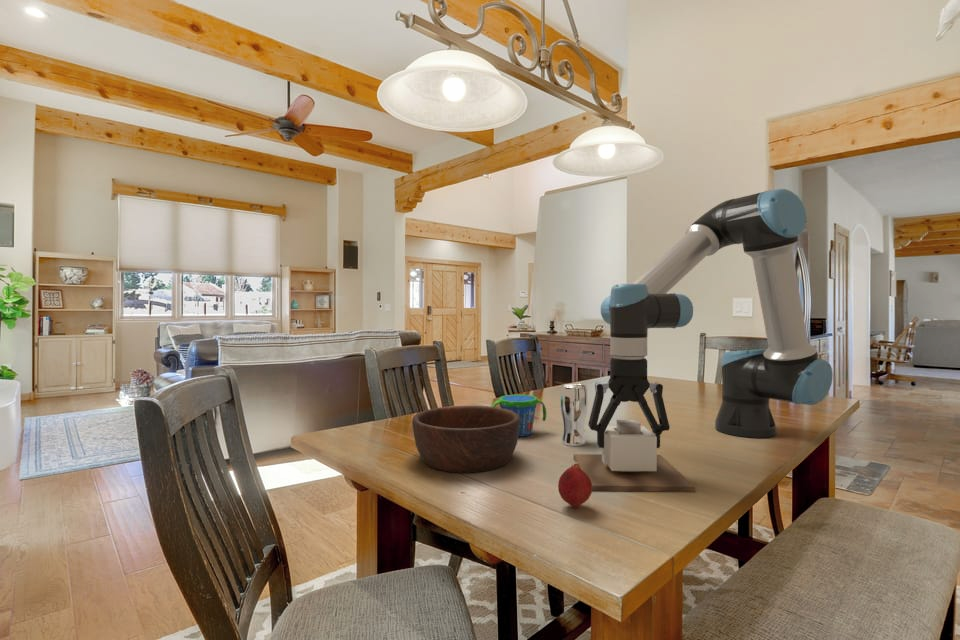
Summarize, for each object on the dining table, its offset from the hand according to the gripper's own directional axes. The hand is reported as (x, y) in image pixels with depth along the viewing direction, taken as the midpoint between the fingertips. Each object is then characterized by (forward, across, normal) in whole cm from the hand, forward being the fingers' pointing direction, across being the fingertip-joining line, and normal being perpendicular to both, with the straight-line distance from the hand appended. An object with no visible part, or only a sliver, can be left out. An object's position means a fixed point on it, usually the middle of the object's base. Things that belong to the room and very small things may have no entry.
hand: (628, 462), depth 104 cm
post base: (+2, 0, 0) cm, 2 cm away
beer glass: (+2, +8, -23) cm, 24 cm away
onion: (+2, +14, +18) cm, 23 cm away
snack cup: (+2, +22, -32) cm, 39 cm away
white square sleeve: (0, 0, 0) cm, 0 cm away
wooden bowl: (+3, +35, -9) cm, 36 cm away
